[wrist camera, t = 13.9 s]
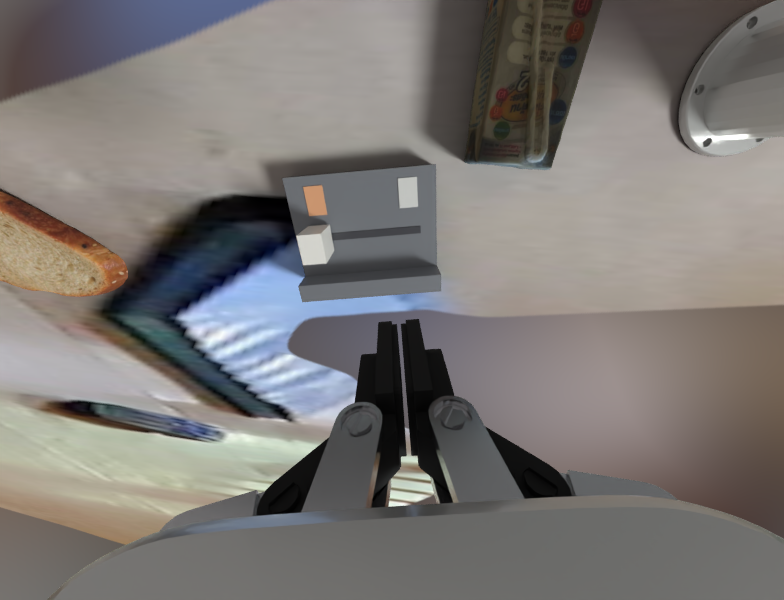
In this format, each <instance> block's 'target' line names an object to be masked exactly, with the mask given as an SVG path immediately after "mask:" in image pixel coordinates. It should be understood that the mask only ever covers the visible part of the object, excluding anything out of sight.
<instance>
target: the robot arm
mask: <svg viewBox="0 0 784 600" xmlns="http://www.w3.org/2000/svg"><path fill="white" fill-rule="evenodd" d="M679 127H680V133H681V135H682V137H683V139H684V142H685V143H686V144H687V145H688V146H689V148H690V149H692V150H693V151H695V152H697V153H698V154H701V155H705V156H731V155H735V154H739V153H743V152H745V151H748V150H750V149H752V148H754V147H757V146H758V145H760V144H762V143H763V142H765V141H766V140H768V139H770V138H771V137H784V0H776V1H773V2H771V3H768V4H766V5H763V6H761V7H758V8H757V9H755V10H753V11H751V12H749V13H747V14H745V15H743V16H742V17H741V18H739V19H738V20H737V21H735V22H734V23H732V24H731V25H730V26H729V27H727V28H726V29H725V30H724V31H723V32H722V33H721V34H720V35H719V36H718V37H717V38H716V39H715V40H714V41H713V42H712V44H711V45H710V46H709V47H708V48H707V49H706V51H705V52H704V53H703V55H702V56H701V58H700V59H699V61H698V62H697V64H696V65H695V67H694V69H693V71H692V73H691V75H690V77H689V79H688V81H687V83H686V86H685V88H684V91H683V94H682V97H681V102H680V107H679ZM401 331H402V342H403V343H402V344H403V357H404V369H405V382H406V393H407V406H408V418H409V431H410V443H411V455H412V456H417V455H418V464H419V466H420V468H421V469H422V470H423V471H425V472H426V473H427V474H428V475H429V476H430V477H431V484H432V487H433V491H434V494H435V498H436V501H437V504H428V505H410V506H395V507H388V505H389V498H390V490H391V478H392V477H393V476H394V475H395V474H396V472H397V471H398V470H399V469H400V467H401V456H406V440H405V425H404V410H403V396H402V395H403V394H402V379H401V367H400V355H399V344H398V332H397V324H393V325H392V322H391V321H389V322H379V324H378V341H377V353H376V354H363V355H361V360H360V368H359V375H358V382H357V390H356V397H355V403H354V404H350V405H349V406H347V407H345V408H344V409H343V410H342V411H341V412H340V413H339V415H338V416H337V418H336V421H335V423H334V426H333V429H332V431H331V434H330V437H329V438H328V439H327V440H325V441H324V442H323V443H322V444H320V445H319V446H318V447H317V448H315V449H314V450H313V451H312V452H311V453H309V454H308V455H307V456H306V457H304V458H303V459H302V460H301V461H300V462H298V463H297V464H296V465H295V466H293V467H292V468H291V469H290V470H288V471H287V472H286V473H285V474H284V475H282V476H281V477H280V478H279V479H277V480H276V481H275V482H274V483H273V484H272V485H271V486H270V487H269V488H268V489H267V490H266V491H265V492H262V493H258V491H257V490H255V491H252V492H249V493H245V494H242V495H239V496H235V497H232V498H229V499H225V500H222V501H219V502H215V503H212V504H209V505H205V506H202V507H199V508H195V509H192V510H189V511H186V512H184V513H182V514H179V515H177V516H176V517H174V518H173V519H172V520H171V521H169V522H168V523H167V524H166V525H165V526H164V527H163V528H162V529H161V530H160V531H159V532H157V533H154V534H151V535H148V536H146V537H143V538H140V539H138V540H136V541H134V542H131V543H129V544H127V545H125V546H123V547H121V548H118V549H116V550H114V551H112V552H110V553H109V554H107V555H105V556H103V557H101V558H99V559H98V560H96V561H95V562H93V563H91V564H90V565H88V566H86V567H85V568H83V569H82V570H81V571H79V572H78V573H77V574H75V575H74V576H73V577H71V578H70V579H69V580H67V581H66V582H65V583H64V584H63V585H62V586H61V587H60V588H59V589H57V591H55V592H54V593H53V594H52V595H51V596H50V597H49V598H48V599H47V600H784V539H782V538H781V537H779V536H777V535H775V534H773V533H771V532H769V531H767V530H765V529H763V528H762V527H759V526H757V525H755V524H752V523H750V522H748V521H745V520H743V519H740V518H738V517H735V516H732V515H730V514H727V513H724V512H720V511H717V510H713V509H710V508H707V507H703V506H700V505H696V504H692V503H688V502H683V501H678V500H677V499H676V498H675V497H674V496H672V495H671V494H670V493H668V492H667V491H664V490H663V489H661V488H659V487H658V486H655V485H652V484H648V483H645V482H640V481H634V480H627V479H621V478H614V477H608V476H602V475H596V474H589V473H583V472H577V471H570V470H568V471H567V474H564V473H559V472H558V471H557V470H555V469H554V468H553V467H551V466H550V465H549V464H547V463H545V462H543V461H542V460H540V459H539V458H537V457H535V456H534V455H532V454H530V453H528V452H527V451H525V450H524V449H522V448H520V447H519V446H517V445H515V444H514V443H512V442H510V441H508V440H507V439H505V438H503V437H502V436H500V435H498V434H497V433H495V432H493V431H492V430H490V429H488V428H487V427H485V426H484V424H483V422H482V420H481V419H480V417H479V415H478V413H477V411H476V410H475V408H474V407H473V406H472V404H471V403H469V402H468V401H466V400H465V399H463V398H460V397H457V396H454V393H453V389H452V385H451V382H450V378H449V375H448V371H447V368H446V364H445V361H444V358H443V354H442V351H441V349H430V350H425V348H424V343H423V338H422V333H421V328H420V323H419V319H413V320H406V324H401Z"/></svg>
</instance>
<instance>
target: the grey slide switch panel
mask: <svg viewBox="0 0 784 600" xmlns="http://www.w3.org/2000/svg"><path fill="white" fill-rule="evenodd" d="M282 180H283V184H284V188H285V192H286V196H287V201H288V205H289V209H290V213H291V217H292V222H293V226H294V230H295V234H296V236H297V235H298V234H299V233H300V232H302V231H303V230H304V229H305V228H307V227H308V226H316V225H327V224H330V229H331V235H332V240H333V246H334V252H333V254H332V255H331V257H330V259H329V260H328V262H327V263H326V264H314V265H303V268H304V272H305V278H304V279H303V281H302V282H301V283H300V285H299V286H298V287H299V291H300V295H301V299H302V302H310V301H323V300H335V299H348V298H360V297H373V296H386V295H398V294H411V293H423V292H436V291H441V274H440V272H439V269H438V267H437V240H436V164H429V165H418V166H407V167H395V168H384V169H373V170H362V171H351V172H340V173H329V174H318V175H307V176H295V177H287V178H282ZM296 239H297V237H296ZM297 243H298V241H297ZM298 247H299V246H298ZM299 251H300V250H299ZM300 255H301V254H300ZM301 260H302V258H301ZM302 264H303V262H302Z"/></svg>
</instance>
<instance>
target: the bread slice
mask: <svg viewBox="0 0 784 600" xmlns="http://www.w3.org/2000/svg"><path fill="white" fill-rule="evenodd" d="M127 278H128V270H127V267H126V264H125V262H124V261H123V260H122V259H121V258H120V257H119V256H118V255H117V254H115V253H113V252H111V251H110V250H109V249H107V248H106V247H104V246H103V245H101V244H100V243H98V242H97V241H96V240H94V239H93V238H91V237H89V236H87V235H85V234H83V233H82V232H80V231H79V230H77V229H75V228H73V227H70V226H68V225H66V224H64V223H63V222H61V221H60V220H58V219H55V218H53V217H51V216H49V215H48V214H46V213H44V212H43V211H41V210H39V209H37V208H35V207H33V206H31V205H29V204H27V203H25V202H23V201H21V200H19V199H17V198H15V197H13V196H10V195H8V194H6V193H4V192H2V191H0V280H1V281H4V282H7V283H9V284H11V285H14V286H17V287H21V288H23V289H28V290H32V291H38V290H42V291H48V292H53V293H57V294H60V295H64V296H78V297H82V296H93V295H100V294H104V293H108V292H111V291H113V290H115V289H117V288H118V287H120V286H121V285H122V284H123V283H124V282H125V280H126V279H127Z"/></svg>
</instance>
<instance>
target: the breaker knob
mask: <svg viewBox="0 0 784 600" xmlns="http://www.w3.org/2000/svg"><path fill="white" fill-rule="evenodd" d="M296 237H297V241H298V246H299V250H300V254H301V258H302V262H303V265H314V264H326V263H327V262H328V260H329V259H330V257H331V255H332V254H333V252H334V246H333V240H332V235H331V229H330V224H327V225H316V226H308V227H307V228H305V229H304V230H303V231H302V232H300V233H299V234H298V235H297V236H296Z"/></svg>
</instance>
